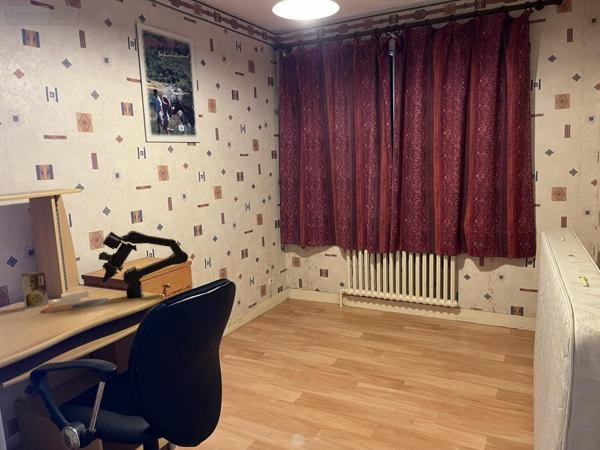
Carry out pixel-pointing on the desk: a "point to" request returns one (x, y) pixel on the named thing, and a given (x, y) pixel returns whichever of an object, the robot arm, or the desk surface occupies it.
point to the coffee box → (34, 289)
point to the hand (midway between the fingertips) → (103, 282)
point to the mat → (86, 304)
